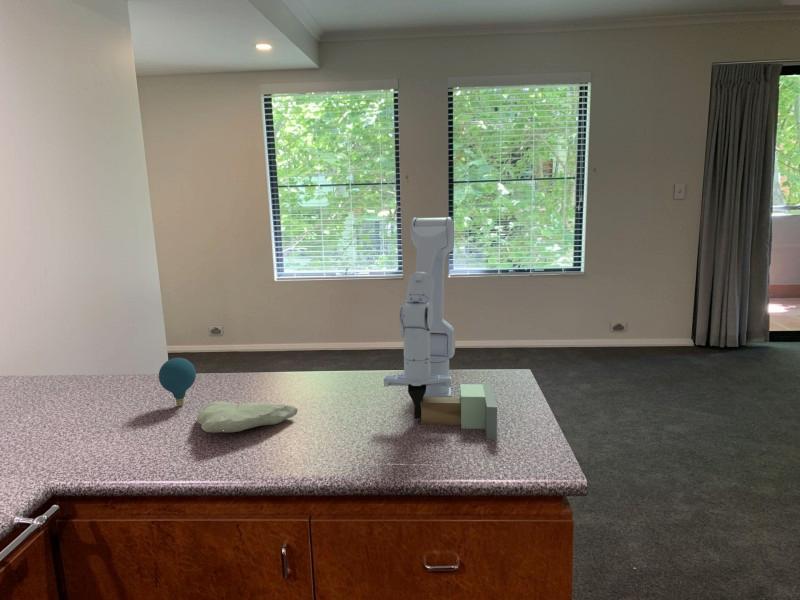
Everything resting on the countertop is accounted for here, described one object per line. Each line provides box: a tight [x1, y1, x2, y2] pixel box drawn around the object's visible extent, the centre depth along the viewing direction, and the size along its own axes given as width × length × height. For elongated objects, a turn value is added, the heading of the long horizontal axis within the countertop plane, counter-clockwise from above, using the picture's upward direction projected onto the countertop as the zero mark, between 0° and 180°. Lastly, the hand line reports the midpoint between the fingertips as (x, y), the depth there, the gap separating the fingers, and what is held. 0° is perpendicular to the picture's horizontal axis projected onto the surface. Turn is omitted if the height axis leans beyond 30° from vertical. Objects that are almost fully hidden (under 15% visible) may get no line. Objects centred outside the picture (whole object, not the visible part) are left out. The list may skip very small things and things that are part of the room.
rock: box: [196, 400, 298, 434], centre depth 116 cm, size 24×6×20 cm
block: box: [459, 383, 485, 430], centre depth 117 cm, size 8×5×7 cm, turn 175°
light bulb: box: [158, 357, 197, 407], centre depth 130 cm, size 8×8×12 cm
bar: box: [420, 396, 461, 426], centre depth 117 cm, size 4×12×5 cm, turn 85°
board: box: [481, 380, 498, 440], centre depth 115 cm, size 16×2×7 cm, turn 175°
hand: (417, 417), depth 118 cm, fingers closed
